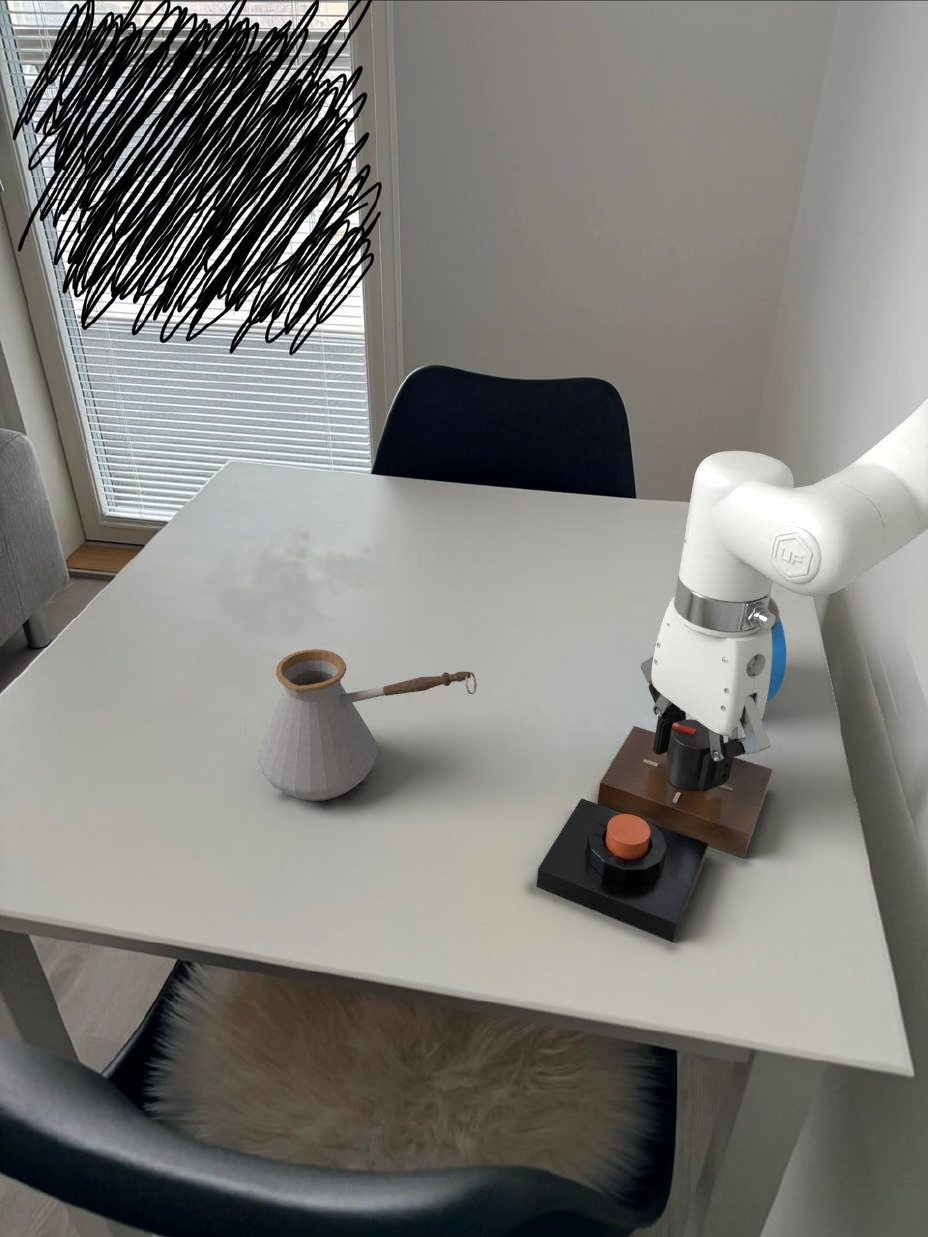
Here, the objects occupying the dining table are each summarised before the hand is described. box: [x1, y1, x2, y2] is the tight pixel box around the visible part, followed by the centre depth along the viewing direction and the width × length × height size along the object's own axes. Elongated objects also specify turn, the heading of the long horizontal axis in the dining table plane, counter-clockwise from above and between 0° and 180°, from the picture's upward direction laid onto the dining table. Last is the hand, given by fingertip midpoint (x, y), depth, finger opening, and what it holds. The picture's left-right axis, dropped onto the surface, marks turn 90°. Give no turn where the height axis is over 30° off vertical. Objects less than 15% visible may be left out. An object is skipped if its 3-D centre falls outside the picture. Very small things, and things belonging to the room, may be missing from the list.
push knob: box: [606, 814, 651, 859], centre depth 74 cm, size 4×4×2 cm
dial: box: [664, 718, 711, 790], centre depth 82 cm, size 4×4×5 cm
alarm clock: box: [766, 596, 787, 703], centre depth 96 cm, size 13×6×15 cm, turn 11°
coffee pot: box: [258, 648, 477, 802], centre depth 82 cm, size 21×12×15 cm, turn 76°
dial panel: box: [596, 725, 773, 859], centre depth 84 cm, size 14×10×3 cm
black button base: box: [536, 797, 709, 943], centre depth 76 cm, size 12×10×4 cm
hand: (689, 765), depth 83 cm, fingers open, 5 cm apart
